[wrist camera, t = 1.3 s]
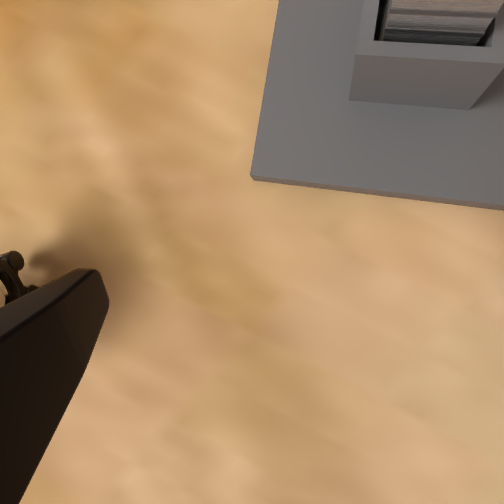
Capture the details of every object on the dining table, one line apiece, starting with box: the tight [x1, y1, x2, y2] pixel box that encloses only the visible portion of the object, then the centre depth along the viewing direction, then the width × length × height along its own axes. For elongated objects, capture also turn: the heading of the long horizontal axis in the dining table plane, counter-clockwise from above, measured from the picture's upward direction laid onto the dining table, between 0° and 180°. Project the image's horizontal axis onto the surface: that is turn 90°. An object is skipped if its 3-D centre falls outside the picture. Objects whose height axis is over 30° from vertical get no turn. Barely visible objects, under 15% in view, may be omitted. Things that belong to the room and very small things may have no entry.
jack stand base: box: [250, 0, 504, 210], centre depth 18 cm, size 14×14×5 cm
